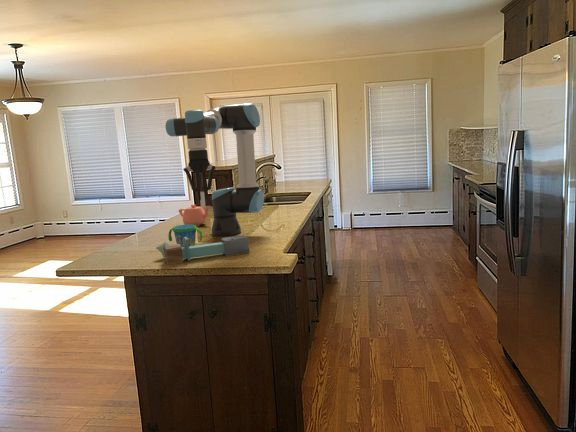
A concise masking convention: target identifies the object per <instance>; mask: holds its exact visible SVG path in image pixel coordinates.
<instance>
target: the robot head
mask: <svg viewBox="0 0 576 432" xmlns="http://www.w3.org/2000/svg"><path fill="white" fill-rule="evenodd" d="M165 245H172V244H171V243H170V241H169V242H168V241H164V242H162V243H161V244H160V245H158V246H156V247H155V249H157V250H158V251H159V252H160V253H161V255H162V256H163V257H164V258H166V256H165V247H164V246H165Z"/></svg>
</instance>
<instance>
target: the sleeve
mask: <svg viewBox="0 0 576 432" xmlns="http://www.w3.org/2000/svg"><path fill="white" fill-rule="evenodd" d="M220 240H221V241H220V242H224V243H225V253H223V254H222V255H224V256H225V257H229V256H236V255H237V254H238V255H243V254H242V253H245V254H249V253H250V244H249V243H250V242H249V237H247V236H246V235H235V236H227V237H221V238H220ZM238 255H237V256H238Z"/></svg>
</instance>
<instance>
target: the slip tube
mask: <svg viewBox="0 0 576 432" xmlns="http://www.w3.org/2000/svg"><path fill="white" fill-rule="evenodd" d="M184 244H185V247H182V256H183V260H187V261H188V262H189V261H191V259H193V258H194V259H195V258H201V257H207V256H216V255H224V254H223V253H225V243H224V242H222V241H219V242H212V243H206V244H204V243H203V244H198V245H196V244H195V246H189V240H188V238H187V237H184Z"/></svg>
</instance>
